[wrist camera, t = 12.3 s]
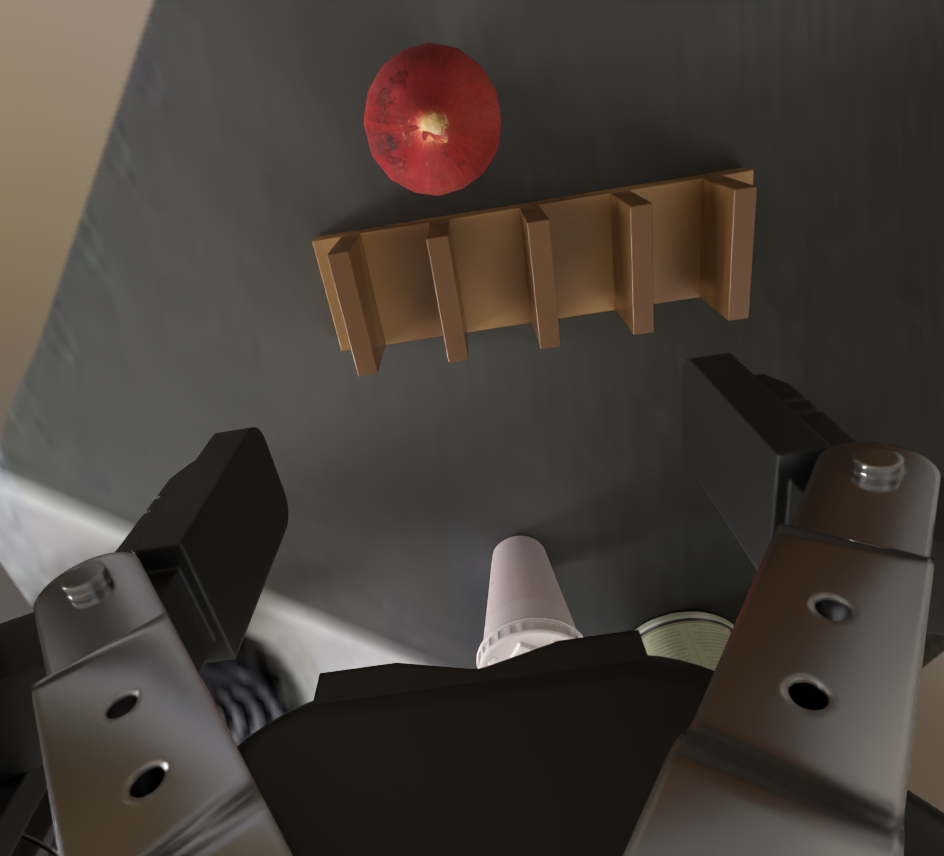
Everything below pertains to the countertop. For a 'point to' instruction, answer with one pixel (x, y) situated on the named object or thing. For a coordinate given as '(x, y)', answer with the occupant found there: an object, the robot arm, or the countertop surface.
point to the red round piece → (432, 119)
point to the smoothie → (522, 603)
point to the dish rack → (542, 264)
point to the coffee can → (687, 637)
